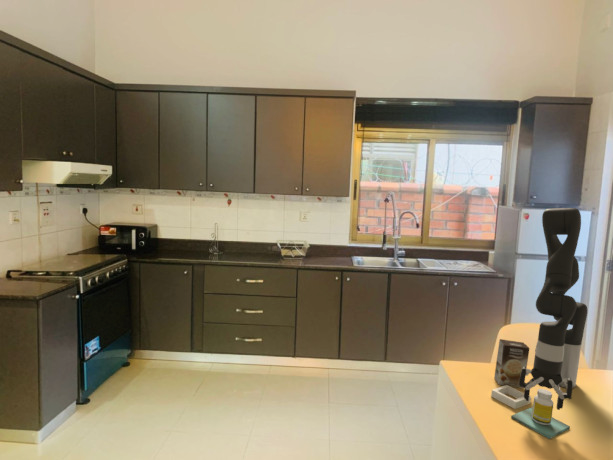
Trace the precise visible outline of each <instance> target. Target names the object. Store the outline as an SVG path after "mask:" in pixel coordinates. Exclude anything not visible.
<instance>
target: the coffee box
mask: <svg viewBox="0 0 613 460" xmlns="http://www.w3.org/2000/svg"><path fill="white" fill-rule="evenodd" d="M529 355H530V347H529V346H528V345H527V344H525V343H524V342H522V341H515V340H507V339H501V338H499V341H498V348H497V354H496V362H495V370H494V379H495V381H496V382H497V384H498V385H500V386H505V385H508V386H510V387H512V388H520V389H524V387H521V386H520V385H519V380H520V375H521V370H522V367H523V366H524V367H526V368H527V367H528V360H529ZM527 369H528V368H527ZM525 377H526V375H525ZM524 382H525V383H526V379H525V380H524Z"/></svg>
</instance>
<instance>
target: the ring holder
mask: <svg viewBox="0 0 613 460" xmlns="http://www.w3.org/2000/svg"><path fill="white" fill-rule="evenodd" d="M490 394H491V395H490V396H491V398H494V399H495V400H497V401H499V402H501V403H502V404H504V405H506V406H508V407H510V408H513V409H514V410H518V409H520V408H522V407H524V406H527V405H529V404H531V400H532V396H531V395H529V401H526V399H525V398H524V391H523V392H522V391H520V390H518V389H517V388H515V387H512V386H508V385H501V386H500V387H496V388H493V389H491V393H490ZM510 396H512V397H514V398H516V399H514V398H512V397H510Z"/></svg>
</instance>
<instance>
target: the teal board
mask: <svg viewBox="0 0 613 460" xmlns="http://www.w3.org/2000/svg"><path fill="white" fill-rule="evenodd" d="M532 409H533V406H531V407H529V408H526V409H524V410H521V411H519V412H516V413H514V414H512V415H511V416H510V418H511V419H513V420H514V421H516V422H518V423H519V424H521V425H523V426H525V427H526V428H529V429H530V430H532V431H534V432H536V433H538V434H540V435H541V436H543V437H545V438H547V439H549V440H550V439H552V438H554V437H556V436H558V435H560V434H562V433H563V432H565V431H567V430H570V427H571V425H568V424H566V423H564V422H562V421H560V420H559V419H556V418H555V417H553V416H552V417H551V423H550V425H542V424H539V423H537V422H535V421H534V420H533V419H532V418H531V415H532Z"/></svg>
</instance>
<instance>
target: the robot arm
mask: <svg viewBox="0 0 613 460" xmlns="http://www.w3.org/2000/svg"><path fill="white" fill-rule="evenodd" d="M541 223H542V229H543V230H542V231H543V234H544V238H545V239H544V240H545V243H546V249H547V260H548V261H547V263H546V270H545V278H544V283H543V286H542V289H541V290H540V292H539V294H538V297H537V298H536V301H535V308H536V310H537V312H538V313H540V314H541V315H545V316H549V317H550V316H552V317H553V319H554V320H555V321H542V322H541V323H540V324H539V328H538V329H539V330H538V335H537V337H538V338H537V342H536V345H535V351H534V352H535V353H534V361H533V367H532V369H530V368H526V367H524V366H523V367H522V370H521V375H520V380H519V385H520V386H521V387H524V388H523V389H524V391H523V393H524V398H525V399H526V401H529V396H530V391H531V390H530V389H532V388H533V387H536V386H537V385H538V386H539V387H542V388H547V389H550V390H551V389H553V390H554V391H555V393H556V394H557V401H556V410H558V411H560V410H561V409H563V407H564V400H571V399H572V398H573V397H572V395H573V389H574V388H575V387H576V385H577V378H578V372H579V364H580V359H581V357H580V356H581V352H582V351H581V350H582V343H583V337H584V333H585V327H586V322H587V318H588V307H587V305H586V303H583V302H580V301H576V299H575V298H574V297H573V296H572V295H571V296H569V295H567V294H566V293H567V292H568V291H569V290H570V289H572V287H573V286H575V285H576V283H577V282H578V281H579V279H580V269H579V268H580V267H579V261H578V259H577V257H576V256H575V254H576V251H577V248H578V247H577V246H578V241H579V238H580V234H581V226H582V215H581V212H580V210H579V209H578V208H576V207H566V208H565V207H562V208H561V207H560V208H546V209H545V210H544V211H543V213H542V218H541ZM560 235H561V236H564V235H565V236H566V238H565V240H564V241H563V243H562V241H560V239H559V237H558V236H560ZM570 325H571V326H572V328H570V329H568V327H569V326H570ZM529 374H530V375H531V377H532V378H531V379H530V380H529V381H527V382H526V376H529ZM525 375H526V376H525ZM524 380H525V382H524ZM561 388H566V390H565V391H566V392H563V391H562V390H561Z"/></svg>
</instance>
